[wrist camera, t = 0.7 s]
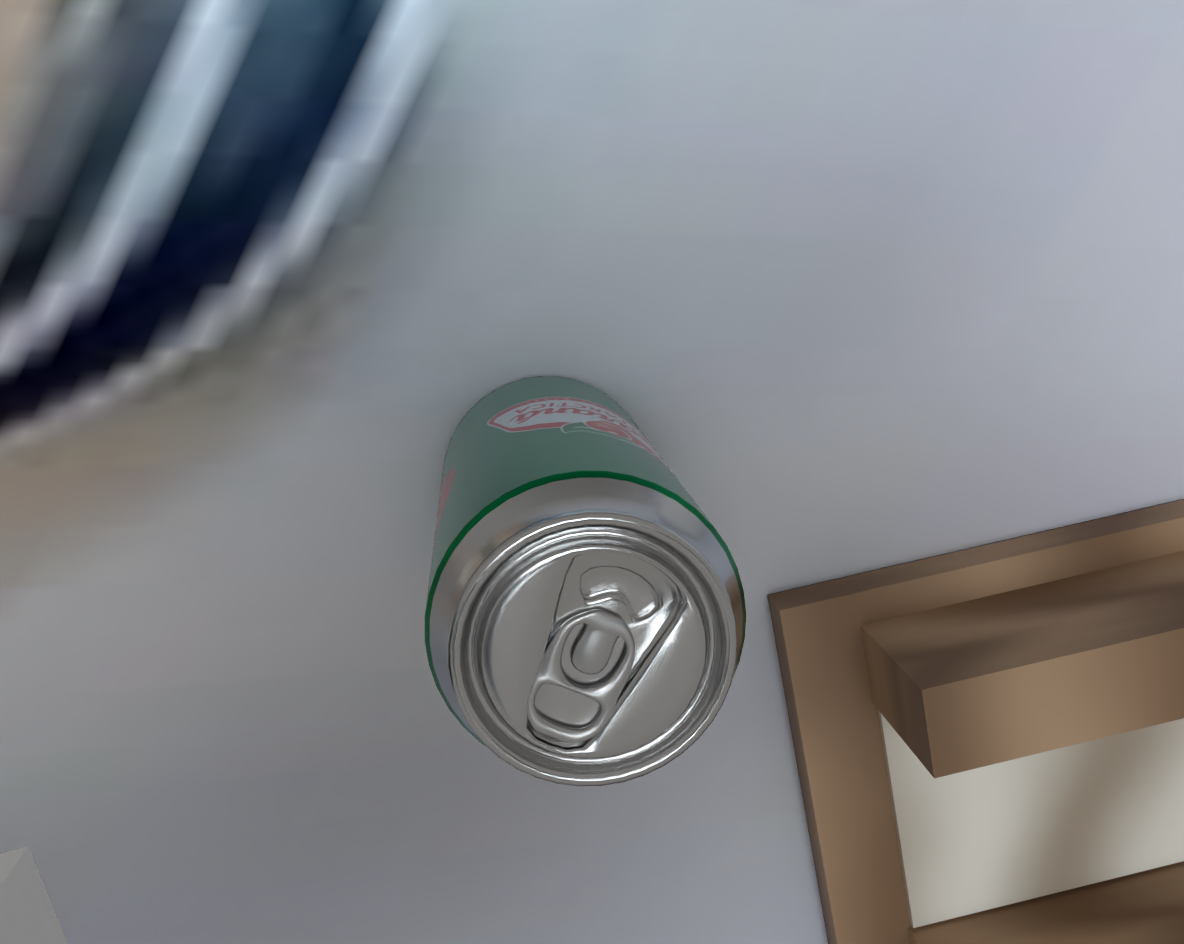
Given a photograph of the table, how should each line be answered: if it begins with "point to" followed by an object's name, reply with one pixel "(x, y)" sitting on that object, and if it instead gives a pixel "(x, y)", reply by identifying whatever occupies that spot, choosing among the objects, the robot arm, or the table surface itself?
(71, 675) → the table surface
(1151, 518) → the cradle
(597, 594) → the soda can
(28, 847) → the robot arm
